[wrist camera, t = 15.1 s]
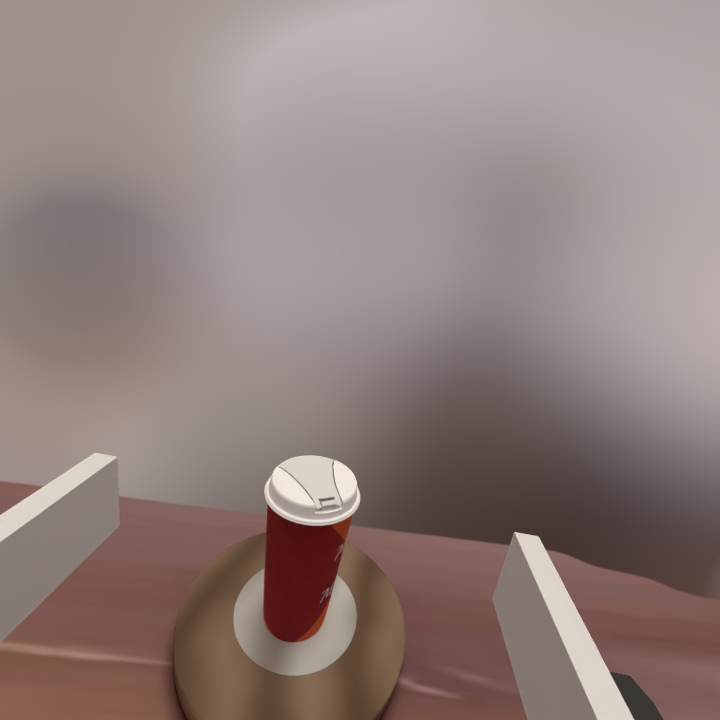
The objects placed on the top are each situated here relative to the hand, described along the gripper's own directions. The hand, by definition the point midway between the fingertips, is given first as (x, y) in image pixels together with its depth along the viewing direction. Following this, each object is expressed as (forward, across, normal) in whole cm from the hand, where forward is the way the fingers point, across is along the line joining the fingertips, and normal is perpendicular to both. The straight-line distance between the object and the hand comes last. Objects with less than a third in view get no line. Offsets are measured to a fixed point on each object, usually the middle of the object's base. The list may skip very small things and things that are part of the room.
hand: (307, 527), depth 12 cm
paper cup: (+15, -2, -23) cm, 28 cm away
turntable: (+16, -2, -25) cm, 29 cm away
